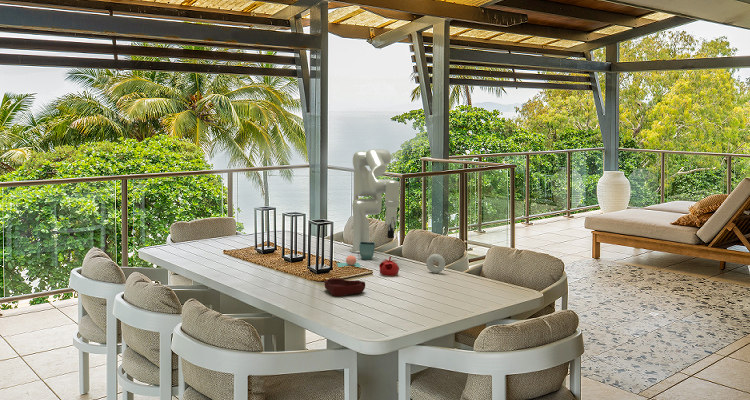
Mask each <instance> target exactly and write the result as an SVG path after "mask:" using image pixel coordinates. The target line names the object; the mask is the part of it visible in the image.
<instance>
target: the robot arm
mask: <svg viewBox="0 0 750 400" xmlns="http://www.w3.org/2000/svg"><path fill="white" fill-rule="evenodd" d="M391 160H392V156H391V153H390V151H389V150H387V149H381V148H380V149H379V148H378V149H377V148H376V149H375V148H373V149H369V150H368V151H365V150H363V151H362V150H361V151H357V152H355V153H354V154H353V155H352V166H353V169H354V192H355V195H356V196H357V197H372V198H358V199H355V200H354V201H352V204H351V206H352V217H353V218H352V219H353V222H352V223H353V226H352V247H351V248H350V249H349V251H350V252H351V253H354V254H360V249H359V244H360V242H370V241H369V240H370V220H369V219H368V217H367V216H372V215H373V216H376V215H379V214H381V212H382V205H383V204H382V203H383V202H382V199H383V198H382V197H383V195H382V194H384V207H386V208H385V213H384V214H385V218H384V223H385V225H386V226H387V238H388V239H394V238H395V226H396V225H397V222H398V221H397V217H398V215H397V214H398V212H397V211H398V210H397V209H398V208H399V207H400V186H401V185H400V184H401V183H400V181H398V180H395V179H392V178H391V179H389V178H383V179H382V178H379V179H378V177H381V176H382V175H383V174H385V172H386V170H387V165H389V164H390V163H391ZM367 167H369V169H370V171H369V169H368V168H367Z"/></svg>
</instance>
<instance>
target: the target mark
mask: <svg viewBox="0 0 750 400" xmlns="http://www.w3.org/2000/svg"><path fill="white" fill-rule="evenodd" d="M336 265H337V268H338V267H342V266H343V267H344V266H350V265H348V264H347V263H346V262H336ZM353 266H355V267H359V268H360V269H362V266H361V265H360V262H356V263H355V265H353ZM359 268H358V269H359Z"/></svg>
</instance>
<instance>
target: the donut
mask: <svg viewBox="0 0 750 400" xmlns="http://www.w3.org/2000/svg"><path fill="white" fill-rule="evenodd" d="M435 261H436V262H437V263H438V265H437V266H436V265H435V266H434V262H435ZM425 264H426V267H427V269H428V271H429V272H431V273H433V274H439V273H441V272H442V271H444V269H445V268H446V260H445V258H444V257H443V256H442V255H441V254H438V253H433V254H430V255H429V256H428V257H427V259H426V261H425Z"/></svg>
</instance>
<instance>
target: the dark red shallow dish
mask: <svg viewBox="0 0 750 400" xmlns="http://www.w3.org/2000/svg"><path fill="white" fill-rule="evenodd" d="M324 288H325V289H326V290H327V292H328V293H329V294H331V296H332V297H344V296H350V295H355V294H356V295H357V294H362V292H364V291H365V289H366V282H365V281H362V280H346V279H343V278H339V277H331V278H328V279H326V280H324Z"/></svg>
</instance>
